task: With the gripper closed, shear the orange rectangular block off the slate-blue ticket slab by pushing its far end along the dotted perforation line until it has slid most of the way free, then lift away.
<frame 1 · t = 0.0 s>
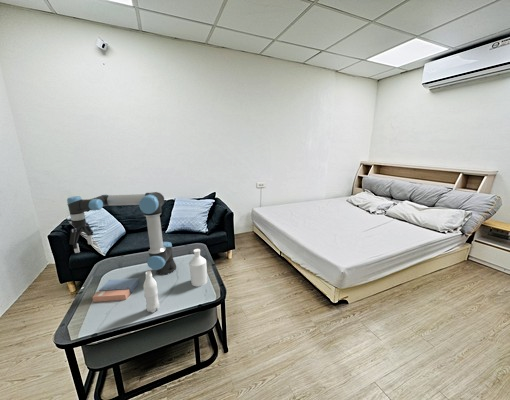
hand: (84, 248, 150), 28 cm above the table, fingers open, 13 cm apart
bottle: (199, 282, 157), on the table
water bottle: (153, 309, 130), on the table
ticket: (120, 288, 150), on the table
orange rectangular block: (111, 295, 140), point 2 cm above the table, slide at 0.0 cm
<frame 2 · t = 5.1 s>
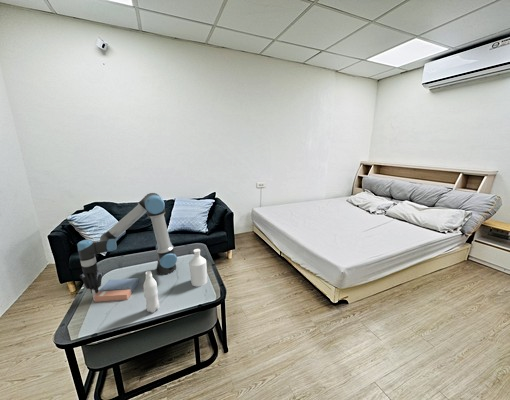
hand: (96, 297, 139), 1 cm above the table, fingers closed
orange rectangular block: (113, 295, 140), point 2 cm above the table, slide at 0.9 cm, touching gripper
everything else where it was.
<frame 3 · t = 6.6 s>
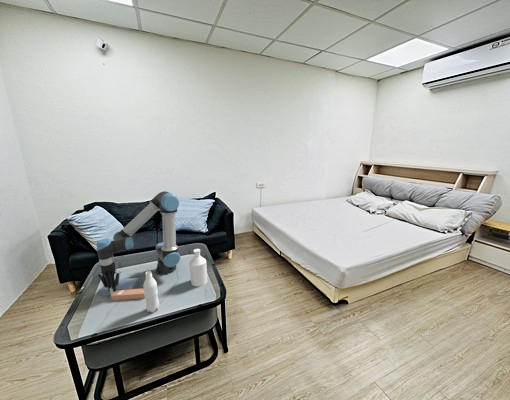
hand: (113, 295, 140), 1 cm above the table, fingers closed
orange rectangular block: (130, 294, 141), point 2 cm above the table, slide at 11.7 cm, touching gripper
everything else where it was.
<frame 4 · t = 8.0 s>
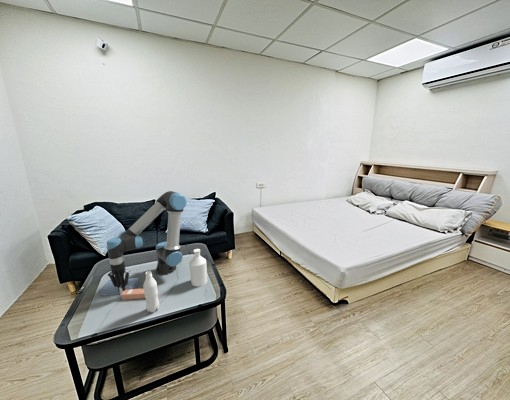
hand: (122, 295, 141), 2 cm above the table, fingers closed
orange rectangular block: (139, 293, 142), point 2 cm above the table, slide at 17.6 cm, touching gripper
everything else where it was.
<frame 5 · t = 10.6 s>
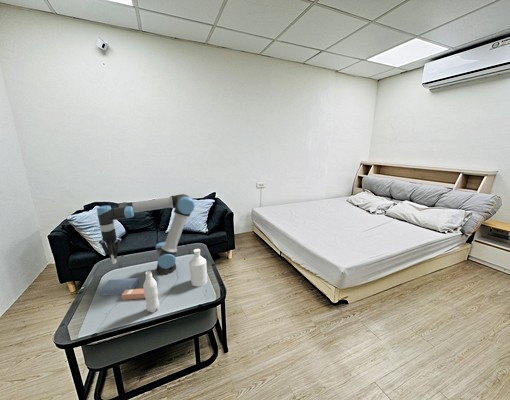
hand: (114, 262, 143), 21 cm above the table, fingers closed
orange rectangular block: (139, 293, 142), point 2 cm above the table, slide at 17.7 cm
everything else where it was.
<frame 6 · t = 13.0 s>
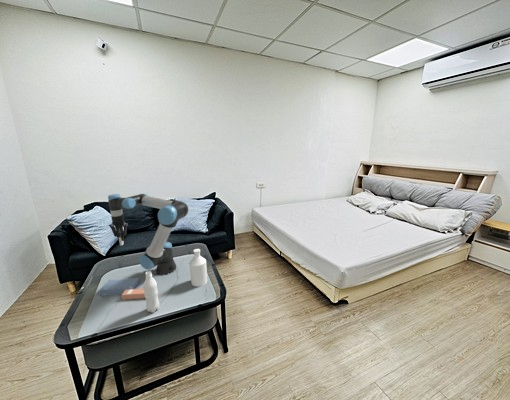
hand: (121, 244, 164), 24 cm above the table, fingers closed
nothing on the table moved.
at the end: orange rectangular block slide at 17.7 cm; the gripper is holding nothing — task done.
